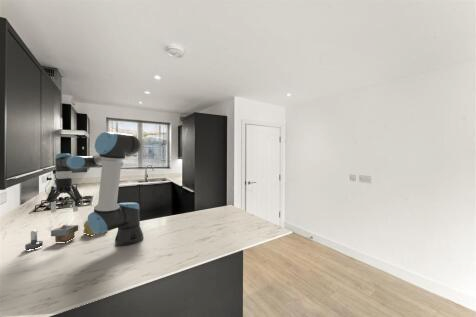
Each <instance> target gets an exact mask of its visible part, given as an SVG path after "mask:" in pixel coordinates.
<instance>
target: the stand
mask: <svg viewBox="0 0 476 317" xmlns="http://www.w3.org/2000/svg"><path fill="white" fill-rule="evenodd" d="M68 226H69V225H68V224H63V225H62V226H61V227H62V229H66V228H68ZM75 234H76V232H74V233H71V234H69V235H67V236H54V237H55V238H54V240H55V242H67V241H69V240H71V239H73V238H74V237H76V236H75ZM55 242H54V243H55Z"/></svg>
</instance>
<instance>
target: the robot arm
mask: <svg viewBox="0 0 476 317" xmlns="http://www.w3.org/2000/svg"><path fill="white" fill-rule="evenodd" d="M141 145H142V144H141V141H140V139H139V138H138V137H137V136H135V135H134V134H129V133H128V134H127V133H121V132H115V131H104V132H101V133H99V134H98V136H97V137H96V139H95V142H94V149H95V152H96V153H97V154H95V155H92V156H89V155H87V156H85V155H84V156H83V155H82V156H81V155H72V154H70V153H56V154H55V158H54V162H55V163H54V164H55V178H56V179H55V185H53V186H51V188H50V191H49V193H48V195H47V197H46V200H45V201H46V202H48V203H49V208H50V213H51V214H53V213H56V212H57V201H56V200H57V199H58V197H59V196H60V195H61V194H67V195H69V197H70V198H71V199H72V200H73V202H72V211H73V213H75V212H78V211H79V206H80V203H79V202H80V200H83V197H82V195H81V193H80V191H79V190H78V185H76V184H75V185H74V184H73V185H72V183H73V179H72V172H73V171H72V169H89V168H90V169H92V168H93V169H94V168H95V169H96V168H97V169H99V168H101V172H100V173H101V174H100V180H99V181H100V182H99V191H98V202H97V204H96V205H95V206H94V207H93V212H91V213H88V215H87V219H86V221H88V226H89V228H90V229H91V231H92V232H94V233H96V234H98V235H101V234H103V233H107V232H109V231H113V230H115V229H117V232H116V235H115V239H114V245H116V246H118V247H119V246H123V247H124V246H130V245H134V244H137V243H139V242H141V241H142V240H144V233H143V230H142V227H141V224H140V223H141V222H140V221H141V220H140V210H141V209H140V204H139V203H138V202H120V203H118V197H119V196H118V195H119V189H120V188H119V187H120V177H121V168H122V162H123V160H125V159H126V157H130V156H134V155H135V154H138V152H139V151H140V150H141V148H142V147H141ZM100 233H101V234H100Z"/></svg>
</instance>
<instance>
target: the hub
mask: <svg viewBox="0 0 476 317" xmlns="http://www.w3.org/2000/svg"><path fill="white" fill-rule="evenodd" d="M43 242H44V241H43V240H38V230H31V231H30V242H29V243H26V244H25V245H24V249H26V250H29V249H35V248H38V247H40V246H42V245H43V246H44V244H43Z"/></svg>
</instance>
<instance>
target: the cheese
mask: <svg viewBox="0 0 476 317" xmlns="http://www.w3.org/2000/svg"><path fill="white" fill-rule="evenodd" d="M83 228H84V229H83V234H84V233H86V234H89V235H94V234H96V233H94V232H92V231H91V229H90V228H89V226H88V221H87V220H86V221H85V222H84V224H83Z"/></svg>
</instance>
